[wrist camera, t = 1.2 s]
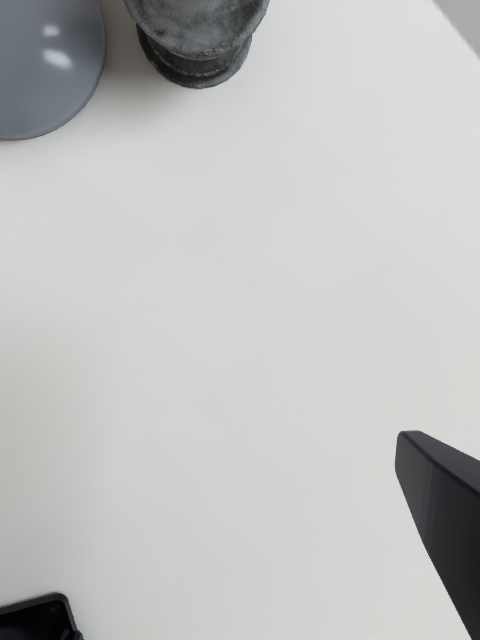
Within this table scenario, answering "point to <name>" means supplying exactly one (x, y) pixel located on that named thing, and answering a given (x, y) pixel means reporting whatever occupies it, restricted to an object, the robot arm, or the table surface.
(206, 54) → the grey upright turned piece
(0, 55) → the disc
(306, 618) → the table surface
